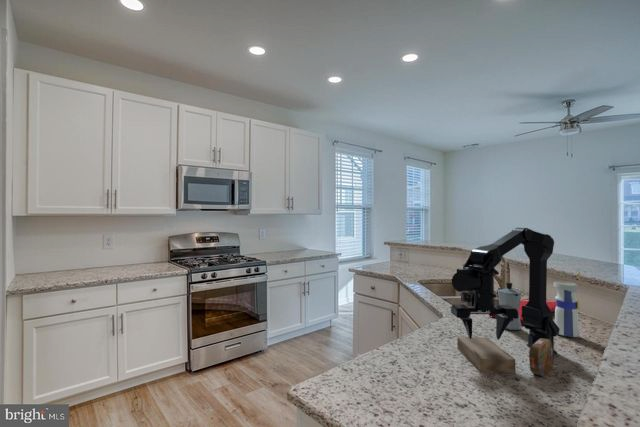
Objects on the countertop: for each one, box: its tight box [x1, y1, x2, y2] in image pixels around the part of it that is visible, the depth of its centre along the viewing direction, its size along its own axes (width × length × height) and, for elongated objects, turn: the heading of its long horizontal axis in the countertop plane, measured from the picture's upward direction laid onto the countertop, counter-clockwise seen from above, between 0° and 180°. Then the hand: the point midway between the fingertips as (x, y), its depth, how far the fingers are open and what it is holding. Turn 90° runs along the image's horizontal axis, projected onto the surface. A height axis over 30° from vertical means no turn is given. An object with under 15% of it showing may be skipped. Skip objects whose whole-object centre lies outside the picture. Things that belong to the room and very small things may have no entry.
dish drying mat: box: [488, 297, 557, 326], centre depth 154 cm, size 16×41×4 cm, turn 125°
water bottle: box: [553, 269, 581, 338], centre depth 126 cm, size 8×9×25 cm
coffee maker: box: [496, 282, 523, 331], centre depth 135 cm, size 15×9×18 cm, turn 179°
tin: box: [528, 338, 555, 377], centre depth 96 cm, size 15×3×8 cm, turn 131°
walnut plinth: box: [456, 336, 516, 374], centre depth 102 cm, size 10×17×4 cm, turn 178°
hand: (484, 338), depth 103 cm, fingers open, 8 cm apart
